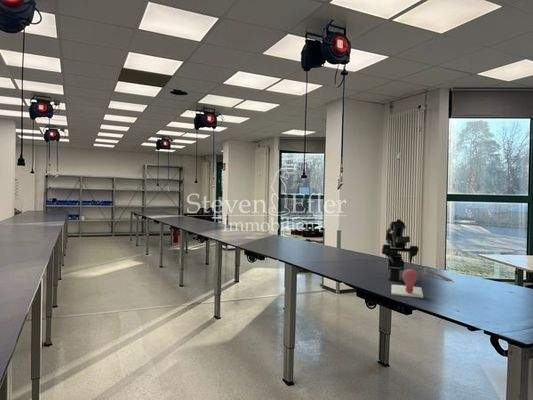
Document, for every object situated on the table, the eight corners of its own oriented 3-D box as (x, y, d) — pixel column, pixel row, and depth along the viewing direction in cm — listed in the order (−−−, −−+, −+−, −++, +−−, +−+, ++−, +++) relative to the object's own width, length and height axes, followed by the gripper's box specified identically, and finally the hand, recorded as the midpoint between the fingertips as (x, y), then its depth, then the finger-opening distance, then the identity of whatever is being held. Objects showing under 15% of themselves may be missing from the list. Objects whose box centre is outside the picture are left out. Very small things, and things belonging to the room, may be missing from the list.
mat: (391, 285, 215) (391, 284, 215) (420, 288, 210) (421, 287, 210) (391, 294, 197) (391, 292, 197) (423, 297, 192) (423, 296, 192)
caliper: (423, 275, 246) (423, 265, 246) (424, 275, 247) (425, 265, 247) (453, 282, 229) (453, 271, 228) (454, 282, 229) (454, 271, 229)
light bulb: (409, 290, 203) (410, 267, 202) (419, 294, 196) (420, 270, 196) (398, 291, 200) (399, 268, 199) (409, 295, 193) (410, 271, 193)
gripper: (383, 230, 216) (386, 253, 206) (418, 231, 214) (423, 254, 204) (380, 242, 224) (383, 265, 214) (414, 243, 222) (418, 266, 212)
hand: (401, 262), depth 211 cm, fingers open, 9 cm apart
